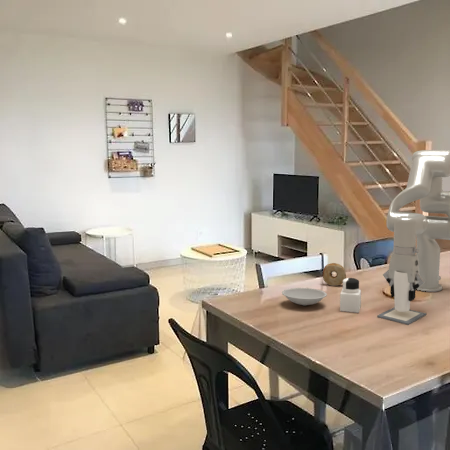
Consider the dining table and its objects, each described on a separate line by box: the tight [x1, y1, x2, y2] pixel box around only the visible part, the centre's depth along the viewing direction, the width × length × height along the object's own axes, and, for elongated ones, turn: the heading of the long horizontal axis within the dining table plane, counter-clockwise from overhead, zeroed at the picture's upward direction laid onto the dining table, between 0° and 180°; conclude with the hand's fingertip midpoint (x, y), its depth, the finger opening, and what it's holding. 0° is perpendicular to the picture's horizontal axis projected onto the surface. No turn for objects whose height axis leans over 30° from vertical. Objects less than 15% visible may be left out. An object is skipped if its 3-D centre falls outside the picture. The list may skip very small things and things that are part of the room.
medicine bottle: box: [339, 277, 362, 314], centre depth 197 cm, size 7×7×12 cm
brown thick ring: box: [322, 262, 347, 287], centre depth 229 cm, size 10×4×10 cm, turn 68°
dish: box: [281, 287, 328, 307], centre depth 204 cm, size 18×14×5 cm
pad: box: [376, 307, 427, 326], centre depth 189 cm, size 14×12×1 cm
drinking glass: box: [393, 271, 413, 312], centre depth 188 cm, size 7×7×15 cm
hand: (402, 297), depth 188 cm, fingers closed on drinking glass, 6 cm apart
